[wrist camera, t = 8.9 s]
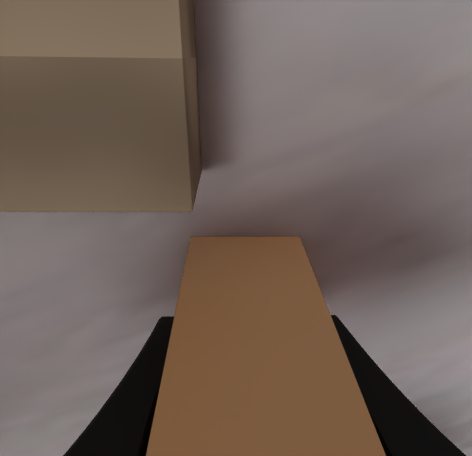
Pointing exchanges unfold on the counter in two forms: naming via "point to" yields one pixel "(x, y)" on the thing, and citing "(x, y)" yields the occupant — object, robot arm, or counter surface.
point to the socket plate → (98, 106)
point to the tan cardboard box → (256, 360)
